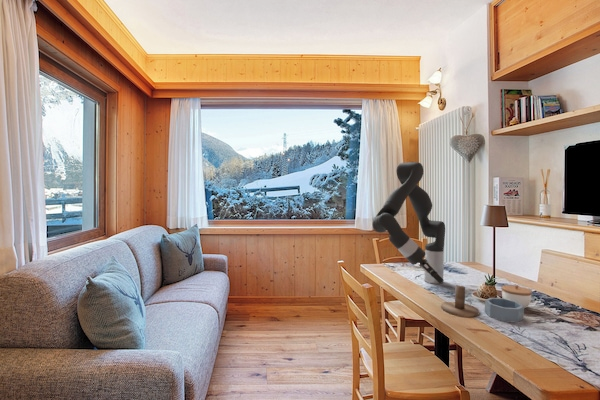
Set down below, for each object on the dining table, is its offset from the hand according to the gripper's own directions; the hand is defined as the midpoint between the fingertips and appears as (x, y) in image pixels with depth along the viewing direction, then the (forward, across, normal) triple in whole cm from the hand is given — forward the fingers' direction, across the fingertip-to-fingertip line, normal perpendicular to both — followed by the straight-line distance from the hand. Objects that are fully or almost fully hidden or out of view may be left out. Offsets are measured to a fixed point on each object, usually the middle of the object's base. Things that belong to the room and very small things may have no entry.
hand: (438, 278), depth 131 cm
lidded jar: (+33, +9, -15) cm, 37 cm away
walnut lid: (+15, 0, +3) cm, 15 cm away
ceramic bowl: (+26, -3, -8) cm, 27 cm away
